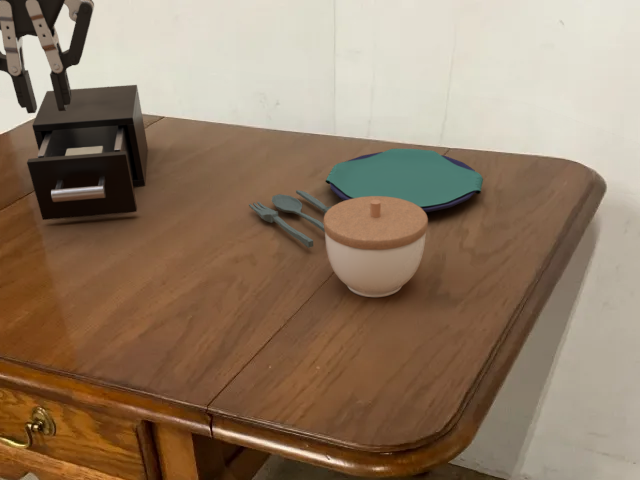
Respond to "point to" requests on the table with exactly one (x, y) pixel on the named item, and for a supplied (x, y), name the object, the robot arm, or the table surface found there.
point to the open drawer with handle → (84, 173)
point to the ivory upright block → (84, 150)
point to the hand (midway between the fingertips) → (48, 109)
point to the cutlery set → (386, 184)
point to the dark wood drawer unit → (99, 118)
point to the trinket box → (375, 243)
